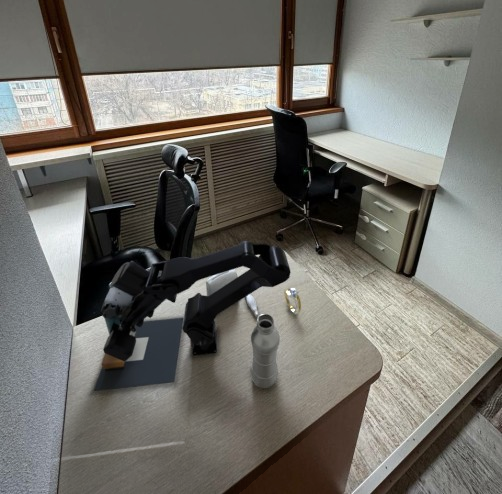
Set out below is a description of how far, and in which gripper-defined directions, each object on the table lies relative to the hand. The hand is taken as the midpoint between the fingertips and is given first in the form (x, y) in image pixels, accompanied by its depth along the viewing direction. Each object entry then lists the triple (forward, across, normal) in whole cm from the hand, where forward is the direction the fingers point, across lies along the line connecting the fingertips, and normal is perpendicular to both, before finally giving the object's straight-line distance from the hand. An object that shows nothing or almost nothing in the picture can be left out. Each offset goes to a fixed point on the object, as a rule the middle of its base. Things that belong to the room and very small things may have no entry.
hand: (111, 334), depth 70 cm
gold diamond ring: (-30, -7, +40) cm, 51 cm away
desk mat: (0, 0, +10) cm, 10 cm away
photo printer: (-15, -12, +26) cm, 32 cm away
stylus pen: (-21, -9, +29) cm, 37 cm away
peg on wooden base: (+4, 0, +6) cm, 7 cm away
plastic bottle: (-22, +10, +33) cm, 41 cm away
